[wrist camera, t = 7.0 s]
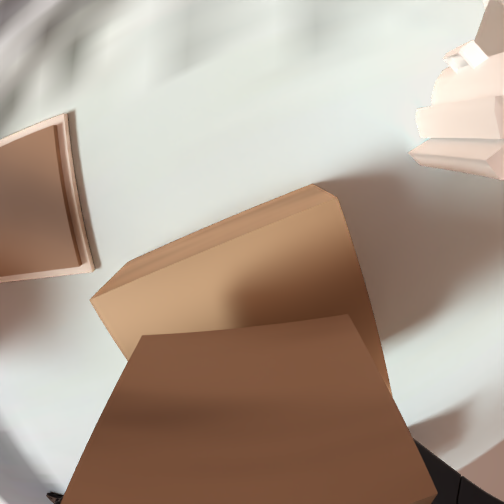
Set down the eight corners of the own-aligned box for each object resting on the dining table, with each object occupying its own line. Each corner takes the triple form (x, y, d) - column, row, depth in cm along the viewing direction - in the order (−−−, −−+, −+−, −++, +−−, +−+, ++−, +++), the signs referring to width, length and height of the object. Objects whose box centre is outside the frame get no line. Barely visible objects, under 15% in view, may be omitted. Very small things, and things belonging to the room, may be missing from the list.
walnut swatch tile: (95, 269, 13) (89, 274, 12) (-3, 281, 13) (-10, 285, 12) (67, 113, 11) (59, 112, 10) (-29, 156, 11) (-37, 157, 10)
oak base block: (364, 344, 14) (392, 399, 11) (212, 396, 15) (203, 456, 11) (311, 182, 12) (337, 197, 8) (130, 259, 13) (89, 299, 9)
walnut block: (341, 443, 9) (373, 575, 4) (188, 457, 9) (168, 586, 4) (348, 314, 7) (437, 493, 3) (142, 335, 8) (59, 506, 3)
